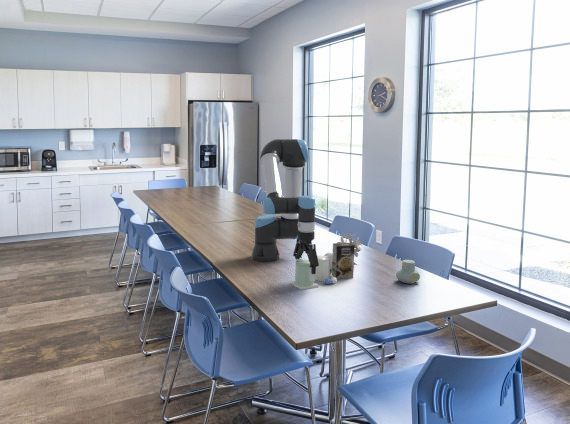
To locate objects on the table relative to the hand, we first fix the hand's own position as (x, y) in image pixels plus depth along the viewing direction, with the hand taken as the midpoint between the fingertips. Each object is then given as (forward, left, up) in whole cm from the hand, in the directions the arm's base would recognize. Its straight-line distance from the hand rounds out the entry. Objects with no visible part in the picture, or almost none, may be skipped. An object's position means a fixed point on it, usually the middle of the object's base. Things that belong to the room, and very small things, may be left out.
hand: (305, 276), depth 236 cm
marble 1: (+2, +10, -4) cm, 11 cm away
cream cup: (-7, +12, -4) cm, 15 cm away
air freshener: (+14, +47, -4) cm, 49 cm away
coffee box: (-5, +23, -4) cm, 24 cm away
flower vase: (-20, +32, -4) cm, 38 cm away
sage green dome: (0, 0, -3) cm, 3 cm away
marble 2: (+2, +14, -4) cm, 14 cm away
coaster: (0, 0, -4) cm, 4 cm away
